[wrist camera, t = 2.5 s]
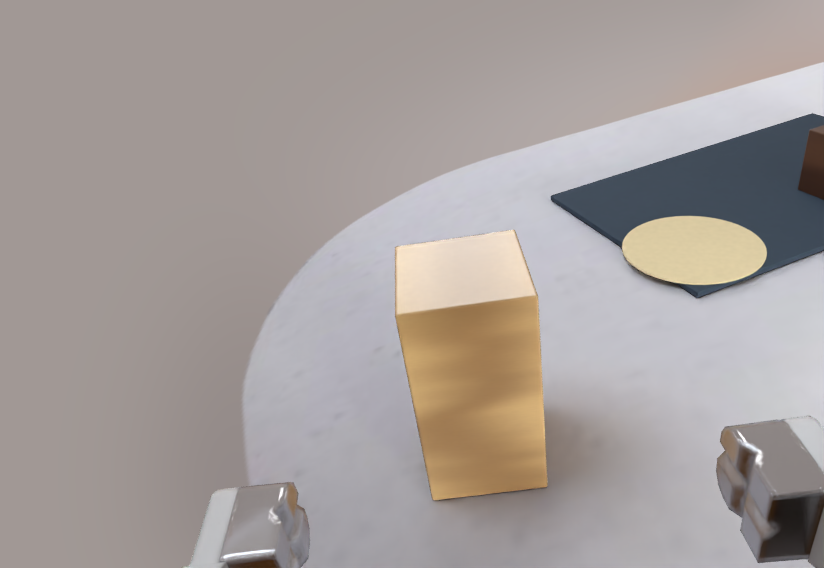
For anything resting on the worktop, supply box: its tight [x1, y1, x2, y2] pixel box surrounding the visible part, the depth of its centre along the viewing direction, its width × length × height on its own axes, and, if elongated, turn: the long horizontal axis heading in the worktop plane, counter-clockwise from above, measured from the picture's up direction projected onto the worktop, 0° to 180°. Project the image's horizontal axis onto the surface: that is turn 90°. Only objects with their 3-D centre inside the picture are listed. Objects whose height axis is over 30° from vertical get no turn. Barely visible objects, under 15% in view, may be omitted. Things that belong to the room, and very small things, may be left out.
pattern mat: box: [551, 113, 824, 298], centre depth 45 cm, size 27×16×1 cm, turn 111°
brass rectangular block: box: [395, 230, 548, 500], centre depth 27 cm, size 5×5×10 cm
